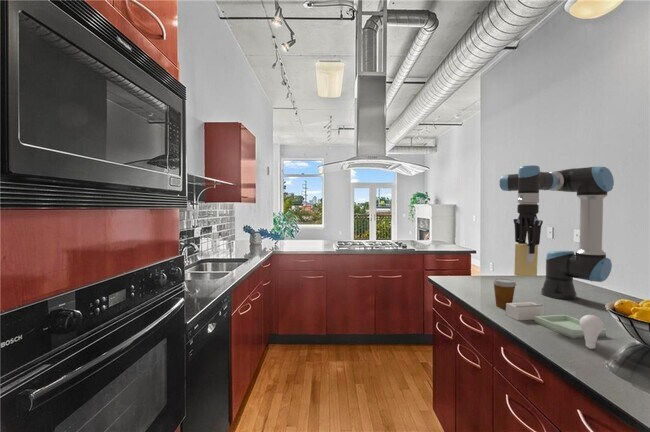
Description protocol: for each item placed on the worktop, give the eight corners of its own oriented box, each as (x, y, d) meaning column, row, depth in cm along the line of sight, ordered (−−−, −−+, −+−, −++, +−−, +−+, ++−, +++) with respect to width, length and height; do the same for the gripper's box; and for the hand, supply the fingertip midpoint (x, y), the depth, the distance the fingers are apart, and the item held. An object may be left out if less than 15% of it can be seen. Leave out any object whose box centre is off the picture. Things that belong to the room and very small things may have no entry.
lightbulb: (574, 345, 116) (575, 312, 116) (591, 344, 116) (592, 312, 116) (589, 353, 110) (590, 318, 110) (607, 352, 110) (609, 318, 110)
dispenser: (530, 313, 150) (531, 300, 150) (543, 318, 143) (544, 305, 143) (505, 315, 147) (506, 301, 147) (517, 320, 141) (518, 306, 140)
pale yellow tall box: (531, 274, 147) (532, 243, 146) (536, 276, 144) (537, 244, 143) (514, 275, 145) (515, 243, 145) (519, 276, 142) (520, 244, 142)
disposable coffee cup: (518, 310, 155) (519, 283, 154) (495, 308, 157) (496, 281, 156) (511, 304, 164) (512, 278, 164) (489, 302, 166) (490, 277, 165)
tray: (564, 320, 141) (564, 314, 141) (605, 336, 125) (606, 329, 124) (534, 322, 139) (534, 316, 138) (572, 338, 122) (572, 331, 122)
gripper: (506, 203, 151) (504, 258, 152) (535, 203, 135) (533, 264, 136) (521, 203, 152) (520, 257, 153) (552, 203, 136) (550, 263, 137)
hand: (526, 260), depth 144 cm, fingers closed on pale yellow tall box, 3 cm apart
